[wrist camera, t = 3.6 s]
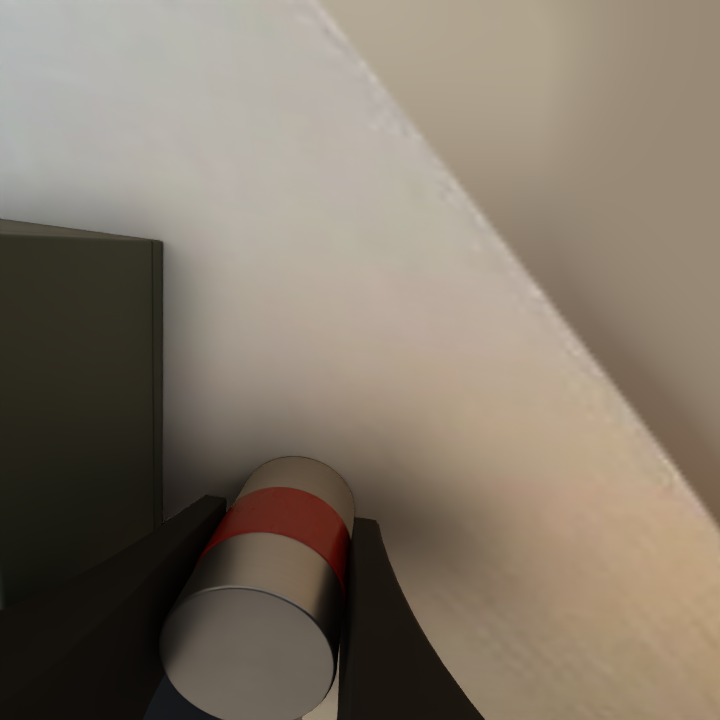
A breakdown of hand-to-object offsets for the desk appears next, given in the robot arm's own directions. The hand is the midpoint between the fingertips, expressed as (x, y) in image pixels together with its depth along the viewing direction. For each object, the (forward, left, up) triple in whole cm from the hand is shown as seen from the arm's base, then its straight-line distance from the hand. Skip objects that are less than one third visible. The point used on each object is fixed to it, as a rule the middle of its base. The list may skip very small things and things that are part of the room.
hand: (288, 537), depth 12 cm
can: (0, 0, -1) cm, 1 cm away
